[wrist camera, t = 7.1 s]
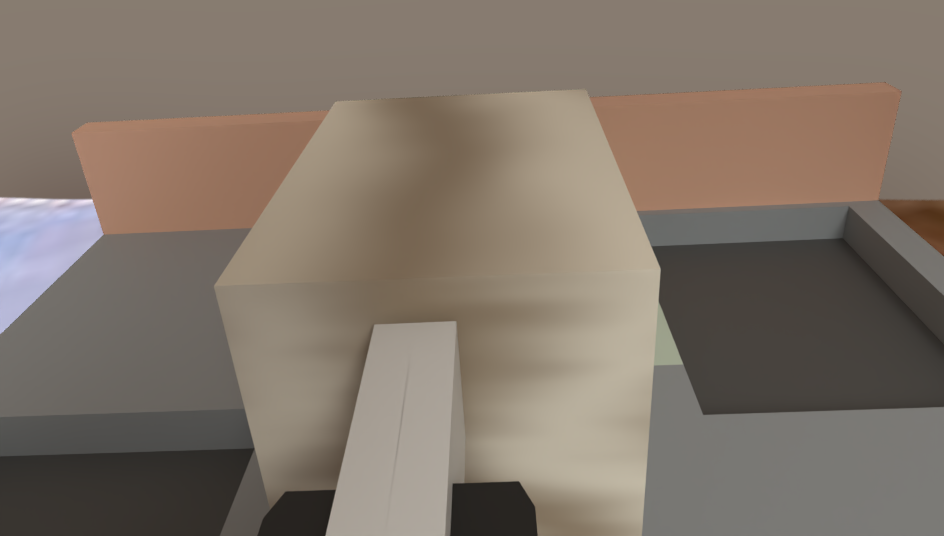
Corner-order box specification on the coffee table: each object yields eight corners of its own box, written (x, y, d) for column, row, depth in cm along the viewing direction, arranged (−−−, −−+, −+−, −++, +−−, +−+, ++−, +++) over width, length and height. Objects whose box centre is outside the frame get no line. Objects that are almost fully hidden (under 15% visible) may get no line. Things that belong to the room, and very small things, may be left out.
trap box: (855, 226, 36) (885, 82, 33) (1835, 1188, 10) (2470, 950, 7) (128, 257, 38) (87, 122, 35) (-698, 1163, 11) (-1209, 960, 8)
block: (582, 305, 28) (585, 88, 24) (638, 580, 17) (660, 269, 13) (366, 312, 28) (335, 101, 24) (289, 586, 17) (213, 285, 14)
